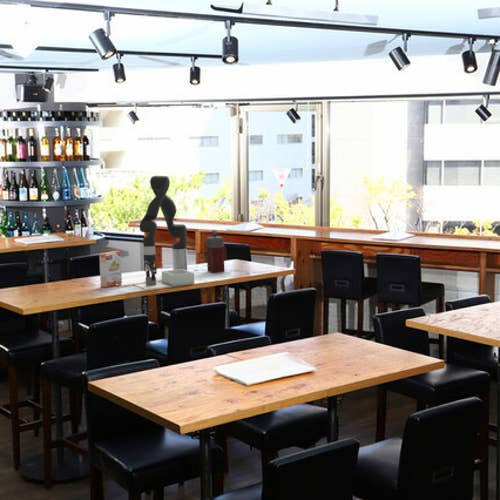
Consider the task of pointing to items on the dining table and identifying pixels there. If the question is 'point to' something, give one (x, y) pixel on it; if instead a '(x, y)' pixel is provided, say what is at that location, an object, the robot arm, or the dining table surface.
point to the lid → (151, 284)
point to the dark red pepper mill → (215, 253)
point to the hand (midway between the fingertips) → (150, 279)
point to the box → (178, 277)
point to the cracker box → (110, 268)
